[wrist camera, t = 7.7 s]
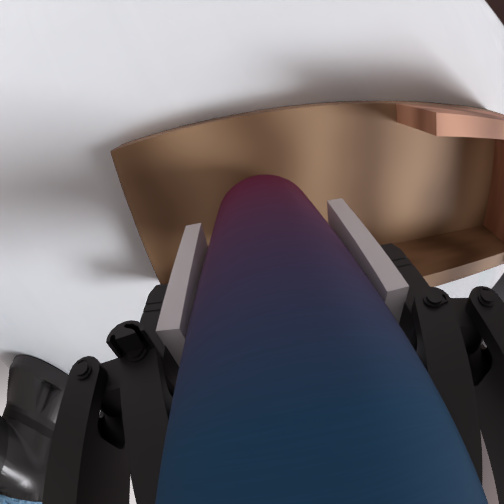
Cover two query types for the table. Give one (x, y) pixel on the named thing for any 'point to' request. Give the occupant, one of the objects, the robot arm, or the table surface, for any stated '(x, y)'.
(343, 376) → the cup
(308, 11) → the table surface
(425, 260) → the board
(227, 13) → the table surface
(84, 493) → the robot arm
